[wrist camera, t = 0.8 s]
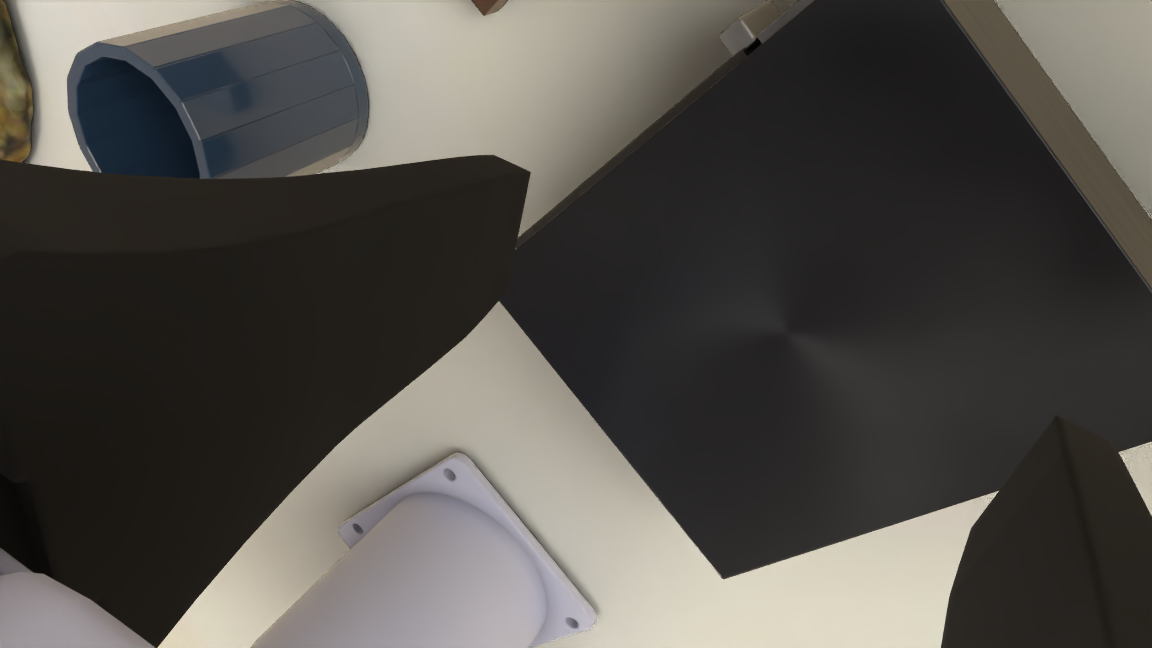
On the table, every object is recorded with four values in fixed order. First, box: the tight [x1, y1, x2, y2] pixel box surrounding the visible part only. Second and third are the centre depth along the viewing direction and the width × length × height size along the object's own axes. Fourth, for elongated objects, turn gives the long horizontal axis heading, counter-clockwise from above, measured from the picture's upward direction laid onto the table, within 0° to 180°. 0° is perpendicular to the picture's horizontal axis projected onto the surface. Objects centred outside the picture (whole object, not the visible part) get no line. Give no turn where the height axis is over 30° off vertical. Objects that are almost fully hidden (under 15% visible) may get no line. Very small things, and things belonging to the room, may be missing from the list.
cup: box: [67, 0, 369, 179], centre depth 24 cm, size 5×5×6 cm
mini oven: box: [499, 0, 1152, 579], centre depth 20 cm, size 12×11×4 cm
